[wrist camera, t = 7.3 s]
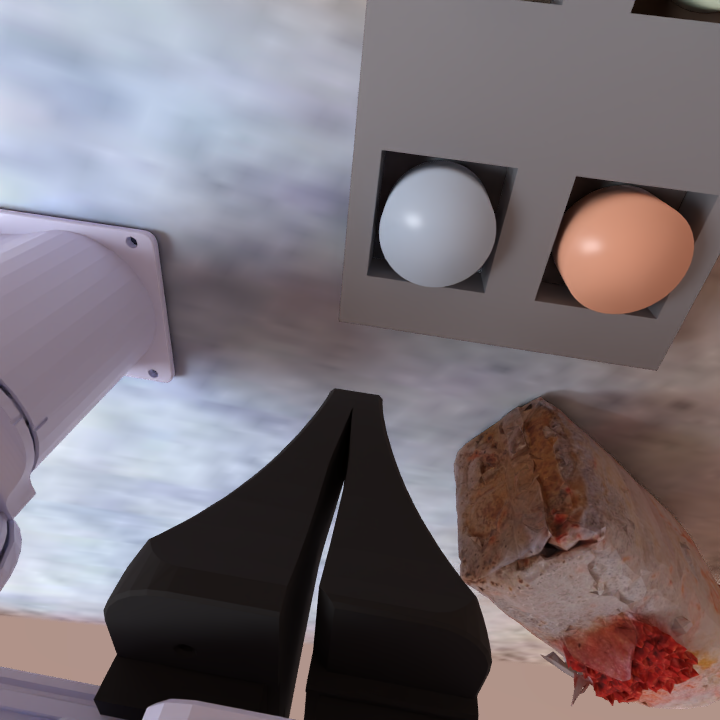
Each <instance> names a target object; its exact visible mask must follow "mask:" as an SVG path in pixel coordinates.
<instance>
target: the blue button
mask: <svg viewBox="0 0 720 720" xmlns="http://www.w3.org/2000/svg"><path fill="white" fill-rule="evenodd" d="M495 237H496V219H495V215H494V211H493V208H492V205H491V202H490V199H489V197H488V194H487V191H486V189H485V187H484V185H483V183H482V182H481V181H480V179H479V178H478V177H477V176H476V175H475V174H474V173H473V172H472V171H471V170H469V169H468V168H466V167H464V166H462V165H460V164H458V163H455V162H450V161H442V160H437V161H429V162H425V163H422V164H419V165H417V166H415V167H413V168H411V169H410V170H408V171H407V172H406V173H405V174H403V175H402V176H401V177H400V178H399V179H398V181H397V182H396V183H395V184H394V186H393V188H392V189H391V191H390V193H389V196H388V199H387V202H386V205H385V208H384V211H383V214H382V217H381V221H380V226H379V239H380V245H381V249H382V252H383V254H384V256H385V258H386V260H387V262H388V263H389V265H390V266H391V267H392V268H393V270H394V271H395V272H396V273H398V274H399V275H400V276H401V277H403V278H404V279H406V280H408V281H410V282H412V283H414V284H417V285H421V286H425V287H445V286H450V285H454V284H456V283H459V282H461V281H463V280H465V279H467V278H469V277H470V276H471V275H473V274H474V273H475V272H476V271H477V270H478V269H480V267H481V266H482V265H483V264H484V263H485V261H486V260H487V258H488V257H489V255H490V253H491V251H492V248H493V245H494V242H495Z"/></svg>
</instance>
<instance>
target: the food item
mask: <svg viewBox="0 0 720 720" xmlns="http://www.w3.org/2000/svg"><path fill="white" fill-rule="evenodd" d="M454 475H455V481H456V509H457V514H458V519H457V523H458V550H459V558H460V560H461V561H462V562H461V564H460V577H461V578H462V580H463V581H464V582H465V583H466V584H467V585H469V586H471V587H472V588H474V589H476V590H477V591H479V592H480V593H481V594H483V595H484V596H486V597H487V598H489V599H490V600H491V601H492V602H493V603H494V604H495V605H496V606H497V607H498V608H499V609H501V610H502V611H503V612H504V613H505V614H507V615H508V616H509V617H511V618H512V619H514V620H515V621H517V622H518V623H520V624H521V625H522V626H523V627H524V628H526V629H527V630H528V631H529V632H531V633H532V634H533V635H535V636H536V637H537V638H539V639H540V640H542V641H544V642H545V643H547V644H548V645H549V646H551V647H552V648H554V649H555V650H556V651H557V652H558V653H560V654H561V655H562V656H563V657H564V660H565V663H564V662H563V661H562V660H561V659H560V658H559V657H558V656H557V655H556V654H555V653H554V652H552V653H550V654H548V655H547V656H543V655H541V656H542V657H543V658H544V659H546V660H547V661H548V662H550V663H552V664H553V665H555V666H556V667H558V668H559V669H560V670H561V671H563V672H564V673H566V674H568V675H570V676H571V677H573V678H574V688H575V690H574V695H573V699H574V700H573V699H572V704H571V706H572V705H573V704H574V701H575V700H576V698H577V697H578V696H579V694H581V693H584V692H585V690H586V689H587V687H588V686H589V684H591V685H593V687H594V690H595V692H596V696H599V697H602V698H604V699H605V700H609V702H610V703H611V704H612V706H613V703H614V700H618V702H619V703H620V702H635V703H639V704H642V705H645V706H648V707H656V708H667V709H673V708H674V709H676V708H677V709H680V708H681V709H684V708H685V709H687V708H693V707H701V706H707V705H709V704H711V703H713V702H715V701H718V700H720V585H718V584H717V583H716V581H715V579H714V578H713V576H712V574H711V572H710V570H709V568H708V566H707V565H706V563H705V561H704V560H703V558H702V557H701V555H700V553H699V551H698V549H697V547H696V545H695V544H694V542H693V540H692V539H691V538H690V536H689V535H688V533H687V532H686V531H685V530H684V528H683V527H682V526H681V525H680V524H679V522H678V521H677V520H676V519H675V518H674V517H673V516H672V514H671V513H670V512H669V511H668V510H667V509H665V508H664V507H663V506H662V505H661V504H660V503H659V502H658V501H657V500H656V499H655V498H654V497H653V496H652V495H651V494H650V493H649V492H648V491H647V490H646V489H644V488H643V487H642V486H641V485H640V484H639V483H637V482H636V481H635V480H634V479H633V478H632V477H631V476H630V474H629V473H628V472H627V471H626V470H625V469H624V468H623V467H622V466H621V465H620V464H619V463H618V462H617V461H616V460H615V459H614V458H613V457H612V456H611V455H609V454H608V453H607V452H606V451H605V450H604V449H602V448H601V447H600V446H599V445H598V444H597V443H596V442H595V441H594V440H593V439H592V438H591V437H590V436H588V435H587V434H586V433H585V432H584V431H583V430H582V429H580V428H579V427H578V426H577V425H576V424H575V423H574V422H572V421H571V420H570V419H569V418H568V417H567V416H566V415H565V414H564V413H563V412H562V411H561V410H560V409H558V408H556V407H555V406H553V404H551V403H549V402H546V401H545V400H544V399H543V398H542V397H539V398H537V399H535V400H532V401H531V402H529V403H527V404H526V405H524V406H523V407H517V408H515V409H513V410H512V411H510V412H509V413H508V414H507V415H505V416H504V417H503V418H502V419H501V420H500V421H499V422H497V423H496V424H494V425H493V426H491V427H490V428H488V429H487V430H485V431H484V432H482V433H481V434H479V435H478V436H476V437H475V438H473V439H472V440H471V441H469V442H468V443H466V444H465V445H464V446H463V447H462V448H461V449H460V450H459V451H458V453H457V456H456V459H455V463H454ZM577 673H578V674H577ZM582 687H584V688H583V689H582ZM581 690H582V691H581Z"/></svg>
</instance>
